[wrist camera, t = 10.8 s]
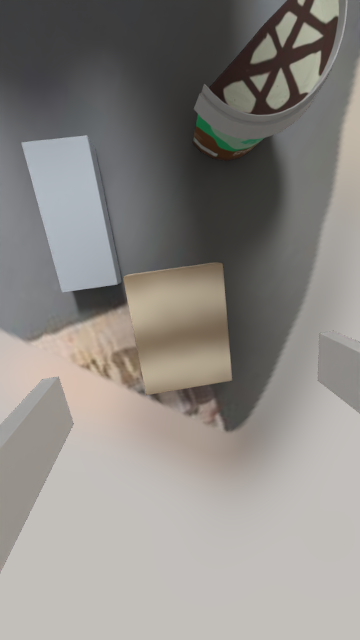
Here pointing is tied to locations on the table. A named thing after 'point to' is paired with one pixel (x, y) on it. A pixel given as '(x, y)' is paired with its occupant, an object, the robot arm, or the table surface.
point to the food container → (270, 78)
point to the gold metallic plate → (180, 326)
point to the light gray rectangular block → (73, 211)
